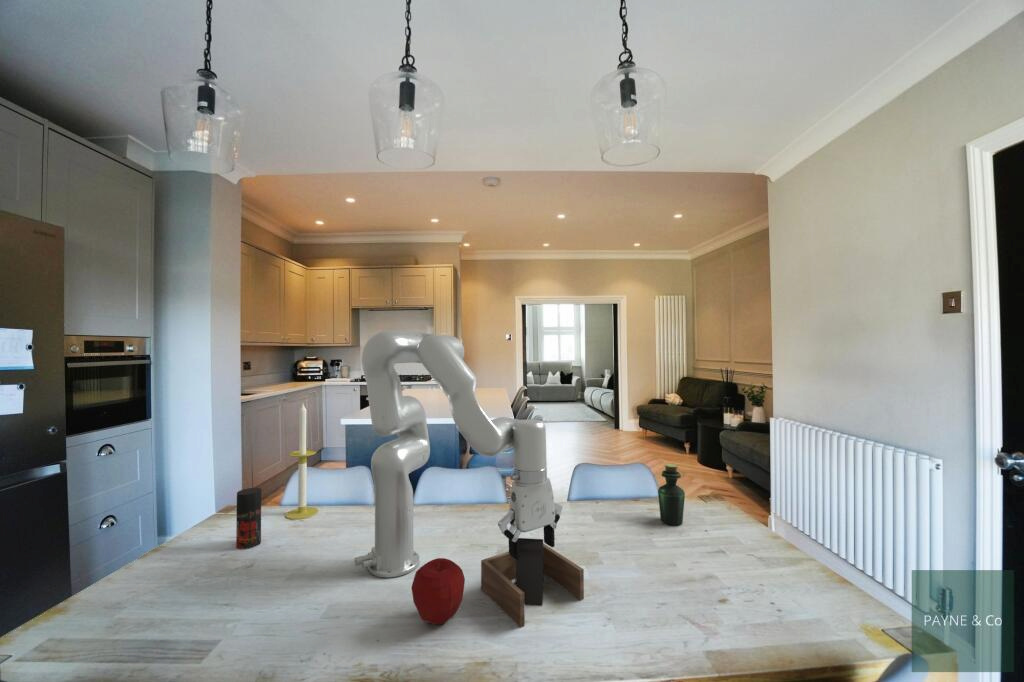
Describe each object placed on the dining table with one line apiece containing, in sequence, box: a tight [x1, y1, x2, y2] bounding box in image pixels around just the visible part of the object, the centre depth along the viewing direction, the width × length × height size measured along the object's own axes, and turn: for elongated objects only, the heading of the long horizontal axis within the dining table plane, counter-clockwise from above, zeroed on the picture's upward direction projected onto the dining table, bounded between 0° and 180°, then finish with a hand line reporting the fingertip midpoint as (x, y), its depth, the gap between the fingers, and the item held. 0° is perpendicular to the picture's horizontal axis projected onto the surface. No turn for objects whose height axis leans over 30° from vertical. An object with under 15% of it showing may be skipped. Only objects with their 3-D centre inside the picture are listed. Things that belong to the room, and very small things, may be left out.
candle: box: [284, 403, 319, 521], centre depth 139 cm, size 10×10×38 cm
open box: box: [480, 543, 585, 628], centre depth 93 cm, size 17×16×6 cm
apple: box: [411, 557, 466, 626], centre depth 85 cm, size 11×11×12 cm
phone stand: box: [515, 537, 545, 606], centre depth 94 cm, size 9×6×12 cm, turn 173°
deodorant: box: [235, 487, 262, 550], centre depth 117 cm, size 6×6×15 cm
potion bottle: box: [657, 463, 686, 527], centre depth 132 cm, size 8×8×18 cm
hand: (532, 550), depth 94 cm, fingers open, 9 cm apart
